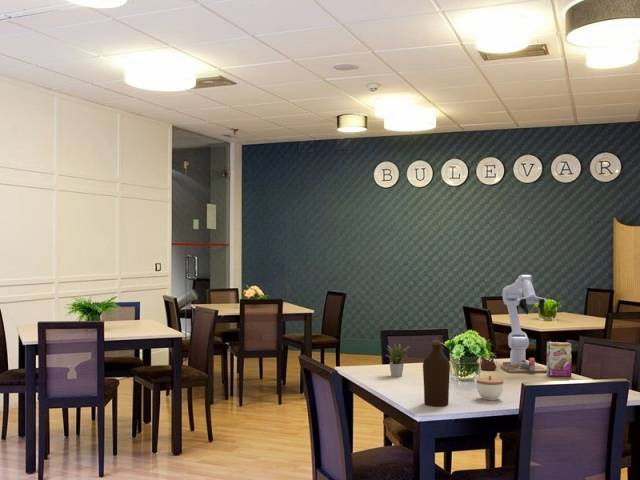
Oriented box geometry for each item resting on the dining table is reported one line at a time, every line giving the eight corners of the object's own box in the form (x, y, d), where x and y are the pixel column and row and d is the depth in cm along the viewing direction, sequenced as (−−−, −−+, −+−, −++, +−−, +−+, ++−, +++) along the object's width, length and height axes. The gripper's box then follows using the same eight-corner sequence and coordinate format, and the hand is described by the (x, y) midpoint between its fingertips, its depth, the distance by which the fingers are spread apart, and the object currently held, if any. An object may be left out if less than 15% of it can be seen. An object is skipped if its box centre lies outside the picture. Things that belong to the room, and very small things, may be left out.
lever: (516, 365, 370) (516, 354, 371) (525, 365, 371) (525, 354, 371) (526, 370, 354) (526, 358, 354) (535, 370, 354) (535, 358, 354)
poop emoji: (477, 368, 372) (477, 350, 372) (494, 368, 372) (494, 350, 372) (482, 371, 362) (482, 352, 362) (498, 371, 362) (498, 352, 362)
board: (500, 368, 371) (500, 361, 371) (539, 368, 371) (539, 361, 371) (508, 372, 356) (508, 365, 356) (549, 373, 356) (549, 366, 356)
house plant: (414, 378, 336) (414, 344, 337) (385, 378, 336) (385, 344, 337) (410, 374, 351) (410, 341, 351) (382, 373, 350) (382, 340, 351)
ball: (512, 367, 366) (512, 361, 366) (518, 367, 366) (518, 361, 366) (513, 368, 363) (513, 362, 363) (519, 368, 363) (519, 362, 363)
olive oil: (442, 408, 271) (442, 342, 272) (417, 404, 277) (418, 340, 278) (454, 403, 280) (454, 340, 280) (430, 400, 286) (430, 338, 287)
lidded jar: (473, 396, 295) (473, 373, 295) (498, 396, 296) (498, 373, 296) (480, 401, 284) (481, 378, 284) (507, 401, 285) (507, 378, 285)
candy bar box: (548, 376, 346) (548, 343, 346) (546, 374, 351) (546, 341, 351) (572, 377, 345) (572, 343, 345) (569, 375, 350) (569, 342, 350)
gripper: (516, 287, 361) (522, 307, 351) (544, 287, 361) (551, 307, 351) (513, 296, 366) (519, 316, 356) (541, 297, 366) (547, 317, 356)
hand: (534, 313), depth 354 cm, fingers open, 7 cm apart
